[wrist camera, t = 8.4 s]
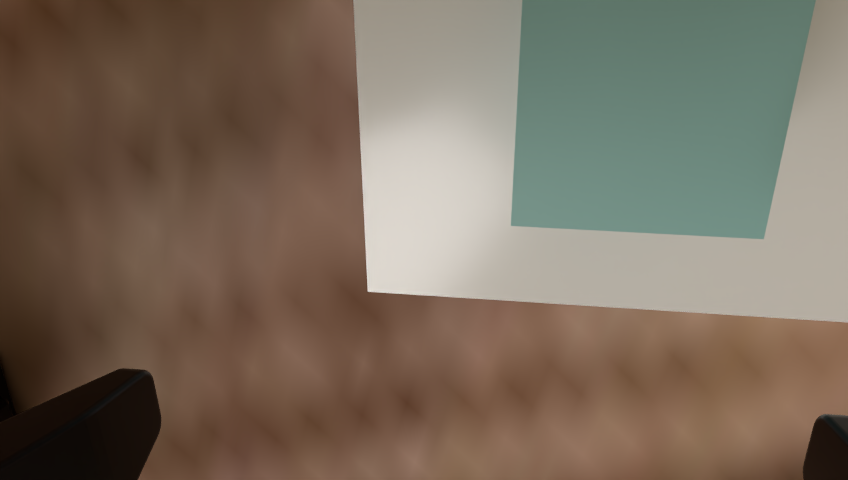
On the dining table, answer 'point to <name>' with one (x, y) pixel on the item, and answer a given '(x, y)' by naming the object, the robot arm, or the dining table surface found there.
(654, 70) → the cube
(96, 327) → the dining table surface
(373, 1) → the plate
